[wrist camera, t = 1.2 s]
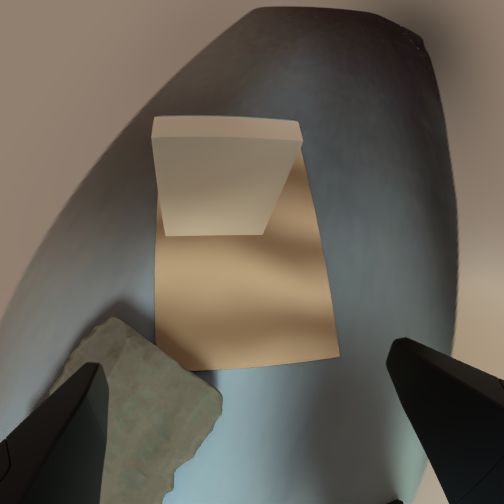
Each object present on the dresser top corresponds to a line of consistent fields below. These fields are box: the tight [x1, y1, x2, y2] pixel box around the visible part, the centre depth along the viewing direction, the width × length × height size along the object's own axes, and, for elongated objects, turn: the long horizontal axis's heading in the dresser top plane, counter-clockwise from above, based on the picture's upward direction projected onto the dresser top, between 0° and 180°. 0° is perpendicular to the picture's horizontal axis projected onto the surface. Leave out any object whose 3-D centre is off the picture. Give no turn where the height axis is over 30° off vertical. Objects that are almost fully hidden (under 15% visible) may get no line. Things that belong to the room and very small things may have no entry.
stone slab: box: [47, 316, 223, 504], centre depth 14 cm, size 22×3×10 cm
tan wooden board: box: [155, 148, 340, 371], centre depth 23 cm, size 18×12×1 cm
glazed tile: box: [151, 115, 303, 236], centre depth 18 cm, size 2×7×10 cm, turn 95°
